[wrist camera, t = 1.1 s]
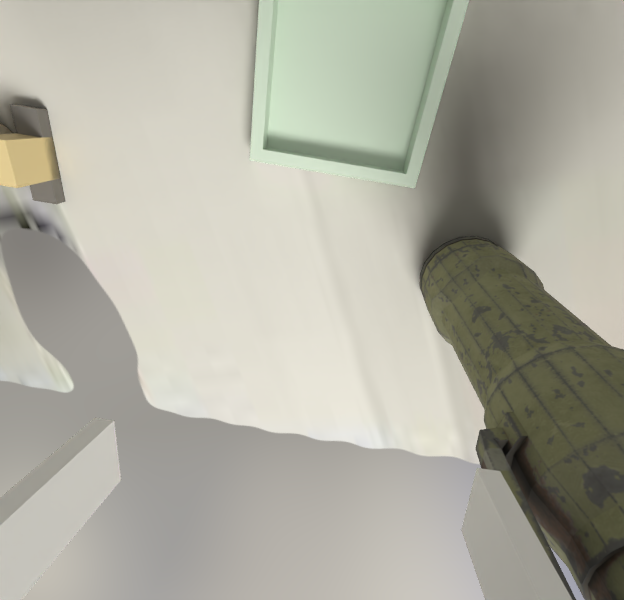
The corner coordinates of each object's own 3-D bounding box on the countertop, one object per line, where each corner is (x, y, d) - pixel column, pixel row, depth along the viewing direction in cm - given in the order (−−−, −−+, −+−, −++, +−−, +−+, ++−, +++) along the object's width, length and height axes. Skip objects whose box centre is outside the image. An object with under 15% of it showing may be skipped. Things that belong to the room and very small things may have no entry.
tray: (270, -57, 24) (263, -75, 22) (466, -21, 24) (479, -35, 22) (255, 157, 30) (249, 160, 28) (409, 183, 31) (414, 188, 28)
